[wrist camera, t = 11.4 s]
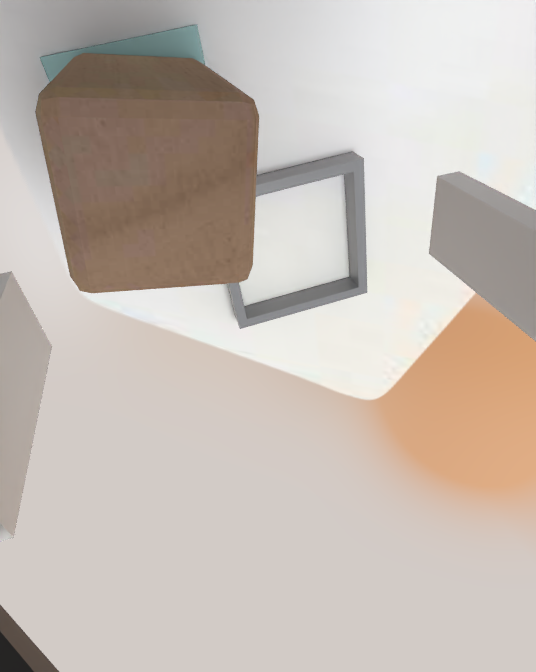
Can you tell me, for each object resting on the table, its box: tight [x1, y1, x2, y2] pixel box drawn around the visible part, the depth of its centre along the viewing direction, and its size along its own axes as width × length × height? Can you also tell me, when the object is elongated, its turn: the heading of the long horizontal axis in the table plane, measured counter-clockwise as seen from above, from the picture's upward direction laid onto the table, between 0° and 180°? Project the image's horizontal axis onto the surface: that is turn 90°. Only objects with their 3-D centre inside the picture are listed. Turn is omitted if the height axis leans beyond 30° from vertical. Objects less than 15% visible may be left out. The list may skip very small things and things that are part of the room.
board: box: [40, 25, 205, 82], centre depth 38 cm, size 12×12×1 cm
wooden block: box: [36, 53, 259, 293], centre depth 30 cm, size 10×10×20 cm
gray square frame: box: [227, 152, 367, 329], centre depth 47 cm, size 15×15×2 cm
